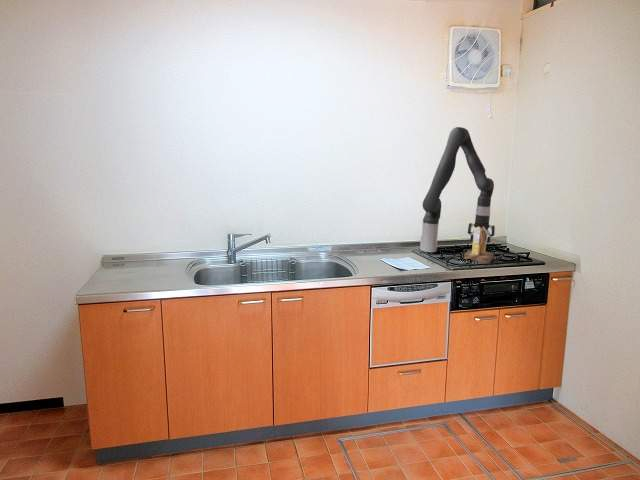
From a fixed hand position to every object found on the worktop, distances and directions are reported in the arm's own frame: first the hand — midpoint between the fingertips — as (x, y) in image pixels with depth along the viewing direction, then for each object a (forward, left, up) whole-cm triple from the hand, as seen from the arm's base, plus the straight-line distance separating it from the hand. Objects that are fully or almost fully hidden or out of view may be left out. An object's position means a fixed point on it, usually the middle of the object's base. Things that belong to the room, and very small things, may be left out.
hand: (480, 242), depth 264 cm
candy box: (0, 0, -7) cm, 7 cm away
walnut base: (0, 0, -10) cm, 10 cm away
